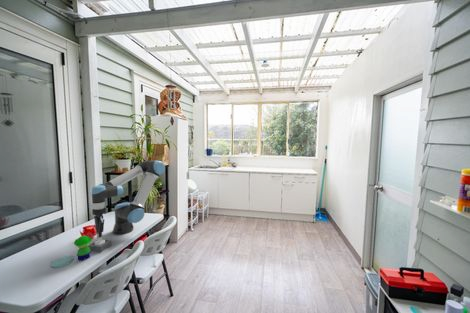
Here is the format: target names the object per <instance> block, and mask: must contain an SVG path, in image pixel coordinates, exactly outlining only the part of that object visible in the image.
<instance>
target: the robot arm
mask: <svg viewBox="0 0 470 313" xmlns="http://www.w3.org/2000/svg"><path fill="white" fill-rule="evenodd" d="M165 171H166V166H165V163H164V162H163V161H160V160H150V159H149V160H145V161H143V162H141V163H138V164H137V165H135V167H134V168H132V169H130V170H128V171H125V172H124V173H122V174H120V175H118V176H117V177H115V178H113V179H111V180H109V181H106V182H105V183H99V184H98V185H94V186H92V188H91V197H92V198H91V205H90V206H91V207H92V209H91V211H92V215H93V218H94V228H95V231H96V240H97V242H100V241H102V239H103V233H104V229H105V228H104V226H105V225H104V224H105V219H104V214H106V199H109V198H114V197H118V196H122V195H123V194H124V188H123V186H122V185H124V184H127V183H128V182H130V181H132V180H133V179H135V178H137V177H139V176H143V175H144V174H146V175H145V177H144V179H143V181H142V183H141V186H140V187H139V189H138V191H137V193H136V195H135V197H134V199H133V201H132V202H122V203H118V204H116V205H115V206H114V226H113V229H112V233H113V234H114V235H125V234H128V233H129V234H130V233H131V232H132V231H134V229H135V228H134V224H137V223H139V222H141V221H142V220H143V219H144V217H145V211H144V210H145V203H146V201H147V199H148V197H149V195H150V192H151V190H152V188H153V186H154V184H155V182H156V180H157V179H159V178H160V176H161V175H163V174H164V173H165Z"/></svg>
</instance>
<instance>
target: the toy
mask: <svg viewBox="0 0 470 313" xmlns="http://www.w3.org/2000/svg"><path fill="white" fill-rule="evenodd" d="M92 241H93V239H92V237H91V236H88V235H81V236H79V237H78V238H76V239H75V240H74V242H73V245H74V246H75V247H77V248H78V250H77V253H76V256H77V262H82V261H84V260H88V259H90V258H91V253H92V252H91V250H90V248H89V246H88V245H89V244H91V243H92Z"/></svg>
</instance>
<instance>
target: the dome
mask: <svg viewBox="0 0 470 313" xmlns="http://www.w3.org/2000/svg"><path fill="white" fill-rule="evenodd" d="M104 239H105V238H102V241H100V242H97V241H96V240H94V241H95V245H102V244H104V243H105V240H104Z"/></svg>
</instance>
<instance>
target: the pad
mask: <svg viewBox="0 0 470 313" xmlns="http://www.w3.org/2000/svg"><path fill="white" fill-rule="evenodd" d="M75 259H76V258H75V256H71V255H70V256H64V257H60V258H58V259H56V260H54V261H52V262H51V264H50V267H51V268H54V269H56V268H62V267H65V266H68V265H70V264H71V263H73V262H74V261H75Z"/></svg>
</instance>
